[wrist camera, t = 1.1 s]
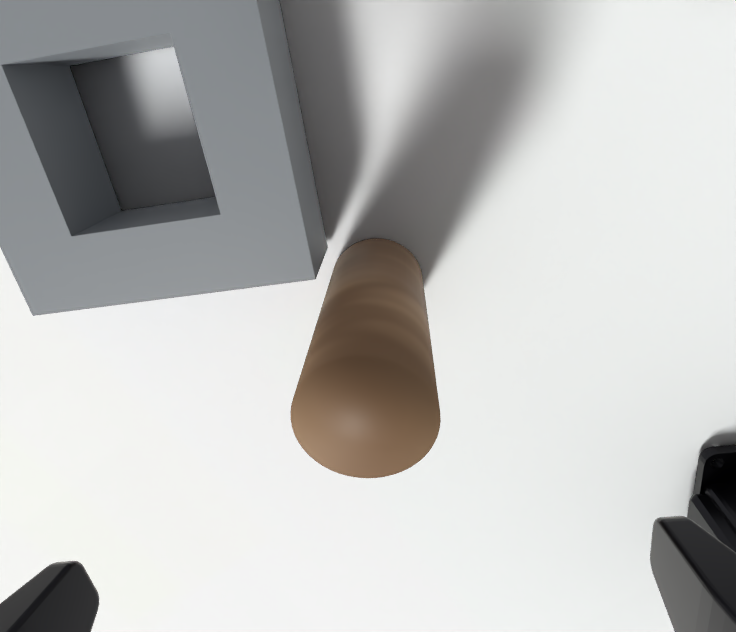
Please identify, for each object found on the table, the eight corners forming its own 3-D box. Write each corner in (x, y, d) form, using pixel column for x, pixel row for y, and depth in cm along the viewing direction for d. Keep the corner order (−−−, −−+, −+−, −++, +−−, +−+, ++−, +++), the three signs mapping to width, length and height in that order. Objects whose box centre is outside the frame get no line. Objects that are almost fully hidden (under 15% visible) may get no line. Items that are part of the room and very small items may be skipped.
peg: (417, 232, 17) (432, 346, 10) (426, 317, 19) (446, 471, 12) (324, 245, 18) (275, 364, 11) (340, 327, 19) (307, 483, 12)
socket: (265, -68, 14) (234, -101, 11) (327, 247, 18) (315, 279, 15) (-33, -6, 15) (-128, -24, 12) (85, 280, 19) (32, 315, 16)
